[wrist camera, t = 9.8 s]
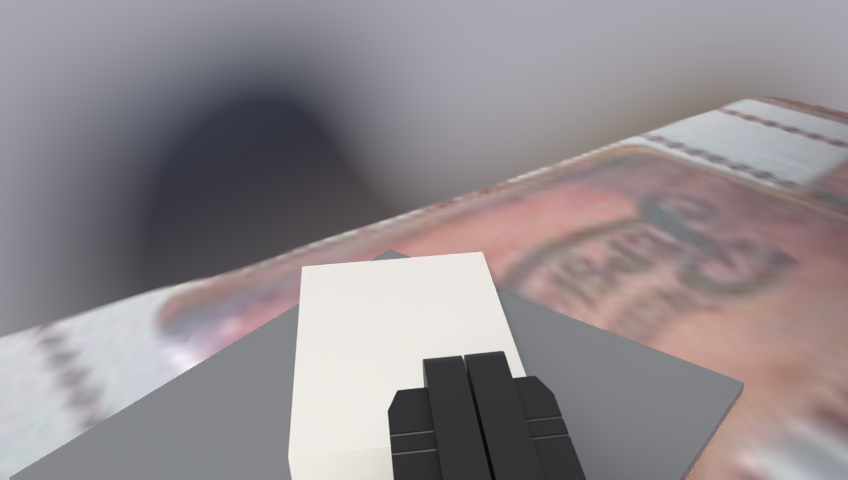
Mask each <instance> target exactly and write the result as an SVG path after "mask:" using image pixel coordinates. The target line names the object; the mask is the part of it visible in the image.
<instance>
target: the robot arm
mask: <svg viewBox="0 0 848 480" xmlns="http://www.w3.org/2000/svg"><path fill="white" fill-rule="evenodd" d="M423 381H424V388H414V389H404V390H397V392H396V394H395V396H394V398H393V401H392V403H391V405H390V407H389V409H388V422H389V433H390V444H391V455H392V467H393V478H394V480H586V477H585V475H584V472H583V469H582V467H581V464H580V462H579V459H578V456H577V454H576V451H575V448H574V446H573V443H572V440H571V438H570V437H569V434H568V430H567V427H566V425H565V422H564V419H562V414H561V411H560V409H559V406H558V404H557V401H556V398H555V396H554V393H553V392H552V391H551V390H550V389H549V388H548V387H547V386H545V385H544V384H543V383H542V382H541V381H540V380H539V379H538V378H537V377H536V376H527V377H517V378H513V377H512V374H511V371H510V368H509V365H508V361H507V358H506V355H505V353H504V351H496V352H486V353H476V354H467V355H464V360H463V358H462V355H458V356H449V357H439V358H429V359H423Z"/></svg>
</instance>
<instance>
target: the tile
mask: <svg viewBox="0 0 848 480" xmlns="http://www.w3.org/2000/svg"><path fill="white" fill-rule="evenodd" d="M496 351H504V353H505V355H506V358H507V361H508V365H509V368H510V371H511V374H512V377H513V378H517V377H526V374H525V371H524V368H523V366H522V363H521V360H520V357H519V354H518V351H517V349H516V346H515V343H514V340H513V337H512V334H511V332H510V329H509V326H508V323H507V320H506V317H505V315H504V312H503V309H502V306H501V303H500V300H499V298H498V295H497V292H496V289H495V286H494V283H493V280H492V278H491V275H490V272H489V269H488V266H487V263H486V261H485V258H484V255H483V252H474V253H461V254H449V255H437V256H425V257H413V258H401V259H388V260H376V261H364V262H352V263H340V264H328V265H316V266H303V267H302V277H301V291H300V304H299V317H298V331H297V344H296V358H295V371H294V384H293V398H292V411H291V425H290V438H289V452H288V460H289V466H290V472H291V478H292V480H394V478H393V467H392V455H391V444H390V433H389V422H388V409H389V407H390V405H391V403H392V401H393V398H394V396H395V394H396V392H397V390H404V389H414V388H424V381H423V359H429V358H439V357H449V356H458V355H462V358H463V360H464V355H467V354H476V353H486V352H496Z"/></svg>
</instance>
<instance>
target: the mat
mask: <svg viewBox="0 0 848 480" xmlns="http://www.w3.org/2000/svg"><path fill="white" fill-rule="evenodd" d="M401 258H411V257H409V256H406V255H403V254H401V253H398V252H395V251H393V250H390V249H389V250H387V251H386V252H384V253H382V254H381V255H379V256H377V257H376V258H374V259H372V260H371V261H376V260H388V259H401ZM496 292H497V295H498V298H499V300H500V303H501V306H502V309H503V312H504V315H505V317H506V320H507V323H508V326H509V329H510V332H511V334H512V337H513V340H514V343H515V346H516V349H517V351H518V354H519V357H520V360H521V363H522V366H523V368H524V371H525V374H526V377H527V376H536V377H537V378H538V379H539V380H540V381H541V382H542V383H543V384H544V385H545V386H547V387H548V388H549V389H550V390H551V391H552V392H553V393H554V396H555V398H556V401H557V404H558V406H559V409H560V411H561V414H562V419H564V422H565V425H566V427H567V430H568V434H569V437H570V438H571V440H572V443H573V446H574V448H575V451H576V454H577V456H578V459H579V462H580V464H581V467H582V469H583V472H584V475H585V477H586V480H684V479H685V477H686V476H687V474H688V473H689V471H690V470H691V468H692V467H693V465H694V464H695V462H696V461H697V459H698V458H699V456H700V455H701V453H702V452H703V450H704V449H705V447H706V446H707V444H708V443H709V441H710V439H711V438H712V436H713V435H714V433H715V432H716V430H717V429H718V427H719V426H720V424H721V423H722V421H723V420H724V418H725V417H726V415H727V414H728V412H729V411H730V409H731V408H732V406H733V405H734V403H735V402H736V400H737V399H738V397H739V396H740V394H741V393H742V391H743V386H744V383H743V382H740V381H738V380H735V379H732V378H730V377H727V376H724V375H722V374H719V373H716V372H714V371H711V370H709V369H706V368H703V367H701V366H698V365H695V364H693V363H690V362H687V361H685V360H682V359H679V358H677V357H674V356H671V355H669V354H666V353H663V352H661V351H658V350H655V349H653V348H650V347H648V346H645V345H642V344H640V343H637V342H634V341H632V340H629V339H626V338H624V337H621V336H618V335H616V334H613V333H610V332H608V331H605V330H602V329H600V328H597V327H594V326H592V325H589V324H586V323H584V322H581V321H579V320H576V319H573V318H571V317H568V316H565V315H563V314H560V313H557V312H555V311H552V310H549V309H547V308H544V307H541V306H539V305H536V304H533V303H531V302H528V301H525V300H523V299H520V298H518V297H515V296H512V295H510V294H507V293H504V292H502V291H499V290H496ZM299 304H300V303H299ZM299 304H297V305H296V306H294V307H293V308H291V309H289V310H288V311H286V312H284V313H283V314H281V315H279V316H278V317H276V318H274V319H273V320H271V321H269V322H268V323H266V324H264V325H263V326H261V327H259V328H258V329H256V330H254V331H253V332H251V333H249V334H248V335H246V336H244V337H243V338H241V339H239V340H238V341H236V342H234V343H233V344H231V345H229V346H228V347H226V348H224V349H223V350H221V351H219V352H218V353H216V354H214V355H213V356H211V357H209V358H208V359H206V360H204V361H203V362H201V363H199V364H198V365H196V366H194V367H193V368H191V369H189V370H188V371H186V372H184V373H183V374H181V375H179V376H178V377H176V378H174V379H173V380H171V381H169V382H168V383H166V384H164V385H163V386H161V387H159V388H158V389H156V390H155V391H153V392H151V393H150V394H148V395H146V396H145V397H143V398H141V399H140V400H138V401H136V402H135V403H133V404H131V405H130V406H128V407H126V408H125V409H123V410H121V411H120V412H118V413H116V414H115V415H113V416H111V417H110V418H108V419H106V420H105V421H103V422H101V423H100V424H98V425H96V426H95V427H93V428H91V429H90V430H88V431H86V432H85V433H83V434H81V435H80V436H78V437H76V438H75V439H73V440H71V441H70V442H68V443H66V444H65V445H63V446H61V447H60V448H58V449H56V450H55V451H53V452H51V453H50V454H48V455H46V456H45V457H43V458H41V459H40V460H38V461H36V462H35V463H33V464H31V465H30V466H28V467H26V468H25V469H23V470H21V471H20V472H18V473H17V474H15V475H13V476H12V477H10V478H9V479H10V480H292V478H291V472H290V466H289V460H288V452H289V438H290V425H291V411H292V398H293V384H294V371H295V358H296V344H297V331H298V317H299Z"/></svg>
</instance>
